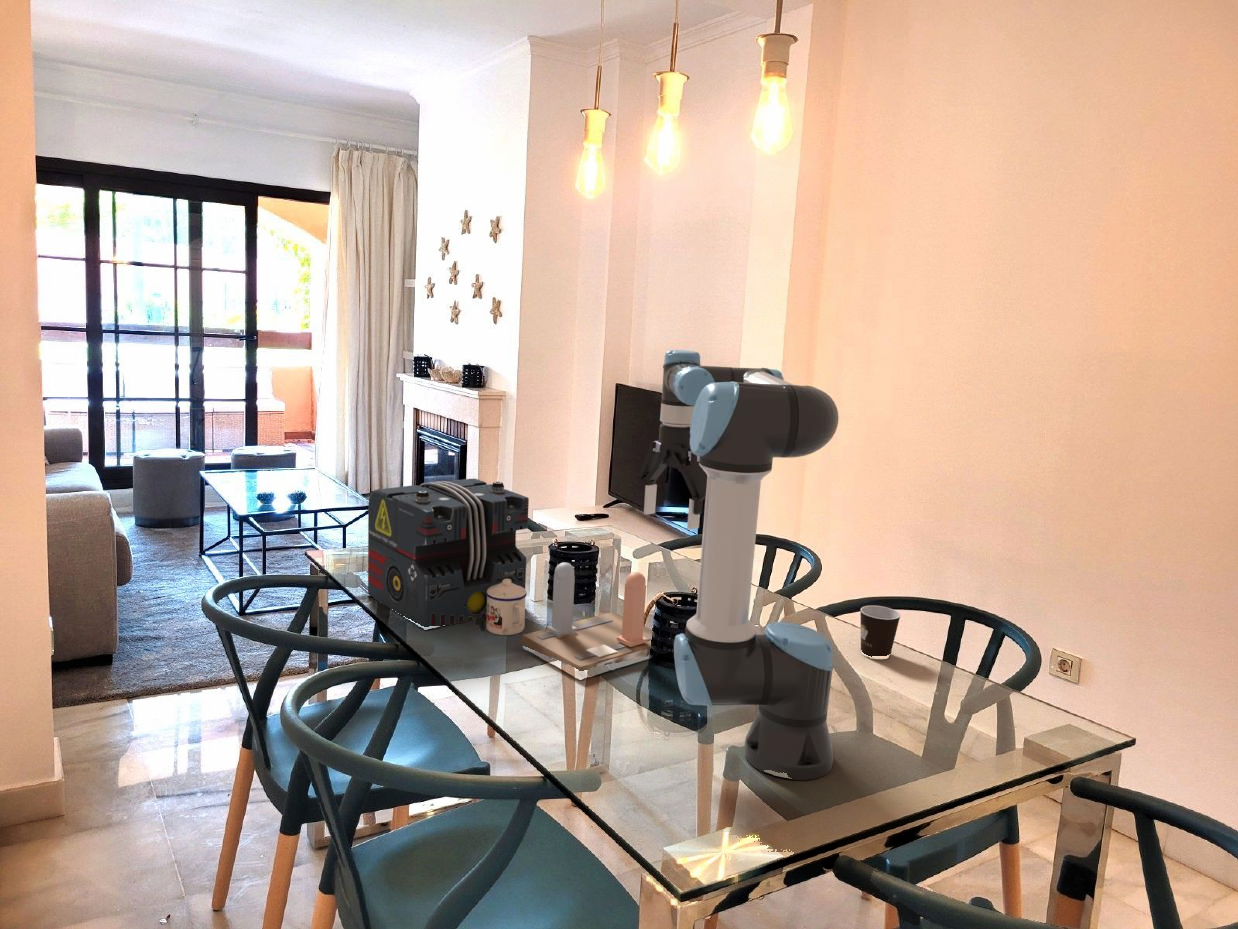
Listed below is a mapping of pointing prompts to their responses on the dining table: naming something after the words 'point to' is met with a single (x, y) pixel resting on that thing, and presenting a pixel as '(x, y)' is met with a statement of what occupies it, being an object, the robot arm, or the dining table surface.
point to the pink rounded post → (633, 610)
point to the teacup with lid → (505, 608)
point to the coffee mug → (878, 630)
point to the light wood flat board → (589, 643)
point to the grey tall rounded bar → (563, 600)
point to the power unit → (443, 548)
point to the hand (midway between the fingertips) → (670, 521)
